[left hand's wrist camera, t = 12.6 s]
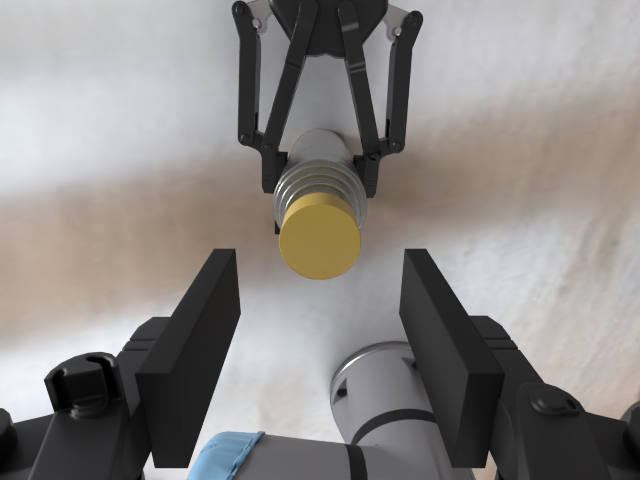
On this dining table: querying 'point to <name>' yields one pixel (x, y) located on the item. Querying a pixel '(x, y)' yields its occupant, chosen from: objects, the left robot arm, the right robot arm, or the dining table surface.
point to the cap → (319, 236)
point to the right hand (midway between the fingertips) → (317, 230)
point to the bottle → (319, 174)
